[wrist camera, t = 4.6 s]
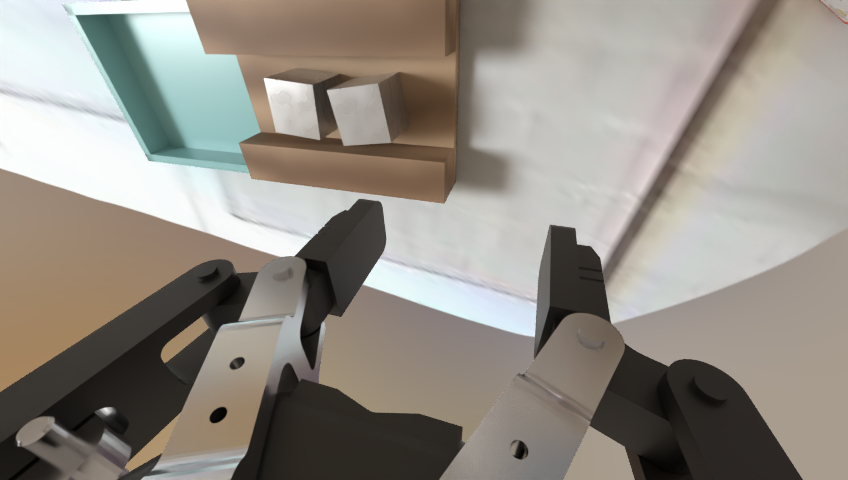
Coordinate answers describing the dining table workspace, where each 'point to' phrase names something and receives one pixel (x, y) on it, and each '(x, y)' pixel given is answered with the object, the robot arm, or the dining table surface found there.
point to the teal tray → (169, 82)
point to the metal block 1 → (302, 102)
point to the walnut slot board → (352, 58)
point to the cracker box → (838, 8)
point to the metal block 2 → (369, 109)
